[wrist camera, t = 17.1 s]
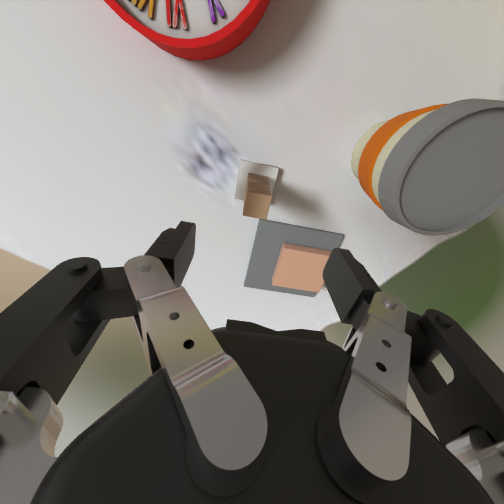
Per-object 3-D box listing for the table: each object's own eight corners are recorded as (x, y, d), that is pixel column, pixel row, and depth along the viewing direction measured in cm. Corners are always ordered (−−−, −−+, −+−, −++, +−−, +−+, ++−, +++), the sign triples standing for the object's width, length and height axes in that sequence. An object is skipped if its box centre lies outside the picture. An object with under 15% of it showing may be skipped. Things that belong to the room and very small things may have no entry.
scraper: (278, 167, 34) (288, 186, 24) (269, 203, 37) (274, 232, 28) (240, 159, 33) (236, 176, 24) (235, 196, 36) (229, 224, 27)
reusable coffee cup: (443, 140, 31) (572, 156, 19) (375, 208, 37) (439, 255, 25) (388, 82, 28) (500, 54, 15) (322, 167, 34) (364, 198, 21)
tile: (283, 241, 40) (332, 250, 41) (271, 278, 45) (316, 285, 46) (284, 248, 38) (336, 257, 39) (272, 285, 43) (319, 292, 44)
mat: (342, 234, 40) (343, 235, 39) (313, 295, 48) (313, 297, 48) (259, 218, 38) (259, 220, 38) (244, 284, 47) (244, 286, 46)
